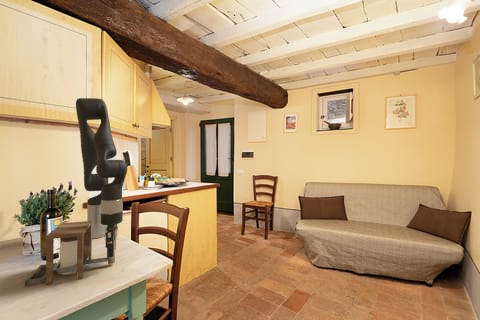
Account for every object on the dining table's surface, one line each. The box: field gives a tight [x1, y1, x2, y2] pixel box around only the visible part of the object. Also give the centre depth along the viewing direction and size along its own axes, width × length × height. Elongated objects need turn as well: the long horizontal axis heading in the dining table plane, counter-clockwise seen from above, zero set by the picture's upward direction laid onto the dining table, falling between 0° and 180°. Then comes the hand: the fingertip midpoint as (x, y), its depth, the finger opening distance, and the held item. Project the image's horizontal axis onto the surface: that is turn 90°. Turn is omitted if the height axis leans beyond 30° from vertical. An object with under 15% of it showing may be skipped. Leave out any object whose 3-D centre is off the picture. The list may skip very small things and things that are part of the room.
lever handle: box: [53, 240, 116, 275], centre depth 85 cm, size 9×19×10 cm, turn 113°
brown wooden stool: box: [45, 220, 93, 285], centre depth 84 cm, size 16×10×16 cm, turn 23°
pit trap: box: [24, 262, 58, 287], centre depth 80 cm, size 12×5×2 cm, turn 23°
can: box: [59, 236, 77, 276], centre depth 84 cm, size 6×6×12 cm
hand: (111, 253), depth 89 cm, fingers open, 6 cm apart
